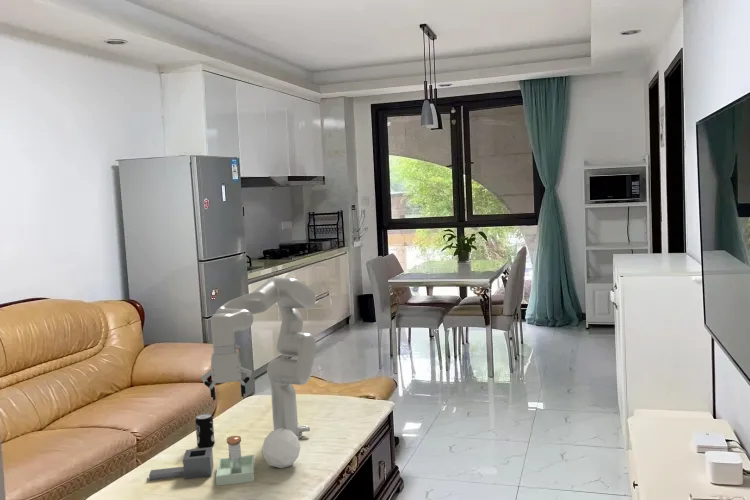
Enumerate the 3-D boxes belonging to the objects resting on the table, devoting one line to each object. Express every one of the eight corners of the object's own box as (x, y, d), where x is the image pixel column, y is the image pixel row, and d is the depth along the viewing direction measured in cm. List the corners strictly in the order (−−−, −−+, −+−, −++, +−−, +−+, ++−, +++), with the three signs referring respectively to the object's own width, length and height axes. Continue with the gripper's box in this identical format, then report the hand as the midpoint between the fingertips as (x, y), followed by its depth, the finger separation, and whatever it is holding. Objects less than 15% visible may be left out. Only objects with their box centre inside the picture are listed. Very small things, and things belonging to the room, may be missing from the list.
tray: (219, 467, 235) (219, 458, 235) (254, 463, 237) (254, 454, 237) (216, 485, 220) (215, 476, 220) (253, 481, 222) (252, 472, 222)
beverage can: (210, 449, 253) (207, 419, 251) (194, 449, 254) (192, 418, 253) (217, 442, 259) (215, 413, 258) (202, 442, 260) (199, 412, 259)
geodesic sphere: (267, 439, 244) (261, 418, 235) (304, 438, 244) (299, 417, 235) (263, 475, 234) (256, 455, 224) (301, 474, 233) (296, 453, 224)
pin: (243, 468, 232) (241, 435, 231) (243, 474, 227) (240, 440, 226) (229, 470, 231) (227, 436, 230) (228, 476, 226) (226, 441, 225)
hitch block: (213, 465, 237) (212, 447, 236) (211, 476, 228) (209, 456, 227) (152, 472, 234) (151, 453, 233) (148, 483, 225) (146, 463, 224)
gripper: (250, 344, 232) (253, 391, 234) (199, 349, 229) (203, 397, 231) (249, 349, 225) (253, 398, 227) (197, 354, 222) (202, 403, 224)
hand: (228, 397), depth 229 cm, fingers open, 9 cm apart
